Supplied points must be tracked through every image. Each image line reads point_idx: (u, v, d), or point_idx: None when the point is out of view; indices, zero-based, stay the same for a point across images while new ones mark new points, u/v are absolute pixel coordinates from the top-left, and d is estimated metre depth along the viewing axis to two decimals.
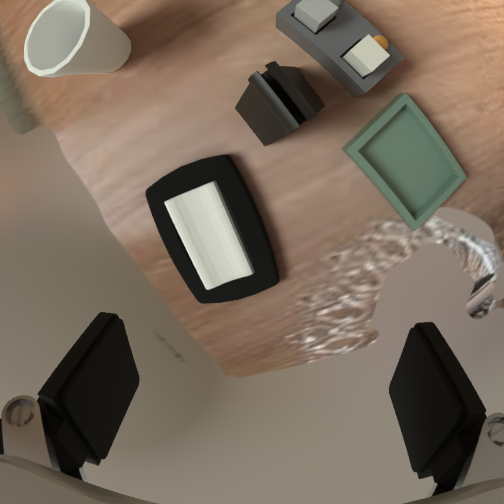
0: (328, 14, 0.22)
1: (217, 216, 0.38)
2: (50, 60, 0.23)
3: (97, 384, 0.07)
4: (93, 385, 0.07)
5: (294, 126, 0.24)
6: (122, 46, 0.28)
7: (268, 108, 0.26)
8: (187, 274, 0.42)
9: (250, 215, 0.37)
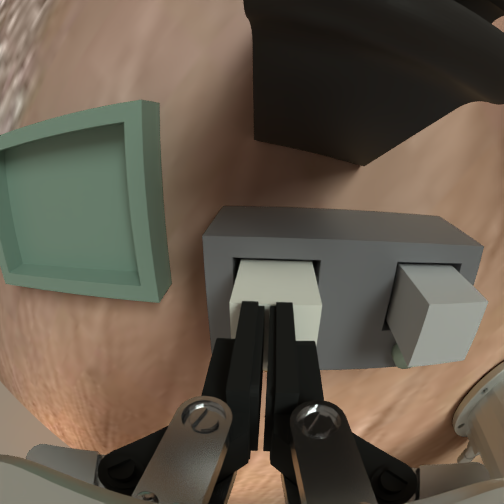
0: (421, 338, 0.10)
1: None
2: None
3: None
4: None
5: None
6: None
7: None
8: None
9: None
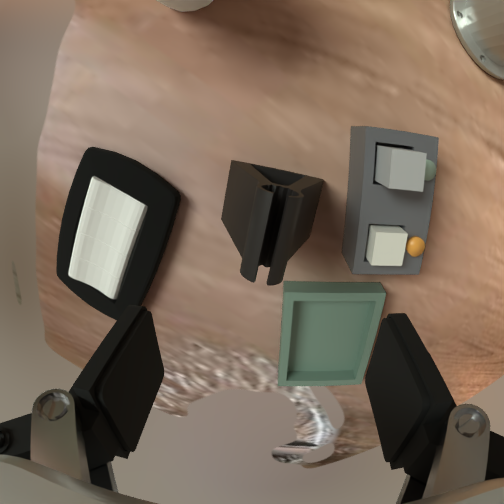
0: (407, 188, 0.20)
1: (122, 234, 0.31)
2: None
3: (129, 376, 0.07)
4: (126, 377, 0.07)
5: (249, 277, 0.20)
6: None
7: (249, 220, 0.22)
8: (63, 247, 0.33)
9: (149, 261, 0.31)
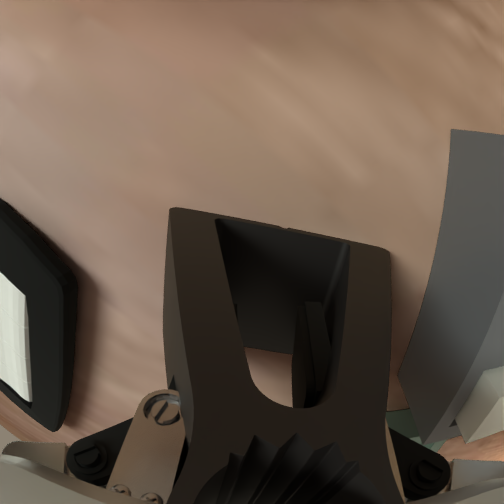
0: None
1: (10, 328, 0.14)
2: None
3: None
4: None
5: None
6: None
7: None
8: None
9: (53, 377, 0.15)
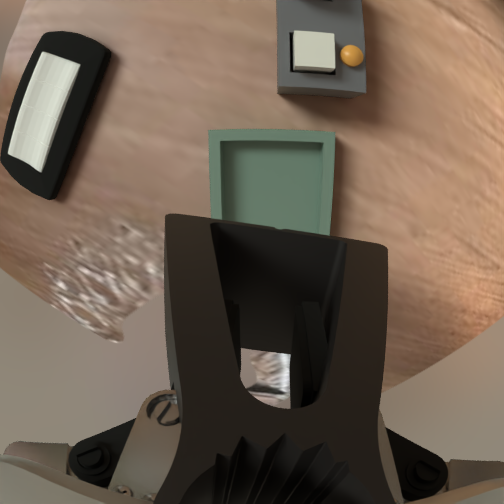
0: None
1: (57, 97, 0.25)
2: None
3: None
4: None
5: None
6: None
7: None
8: (8, 127, 0.27)
9: (74, 118, 0.25)
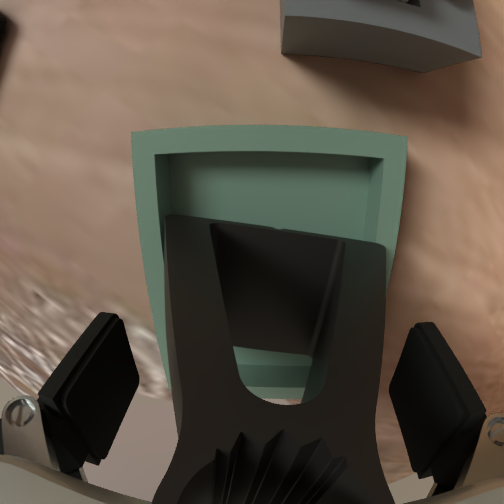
0: None
1: None
2: None
3: (97, 384, 0.07)
4: (93, 385, 0.07)
5: None
6: None
7: None
8: None
9: None
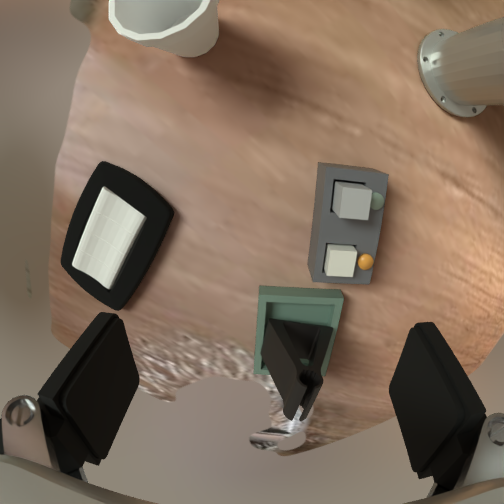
0: (354, 217, 0.28)
1: (123, 236, 0.38)
2: (138, 2, 0.20)
3: (97, 384, 0.07)
4: (93, 385, 0.07)
5: (289, 418, 0.31)
6: (200, 48, 0.27)
7: (287, 382, 0.33)
8: (69, 241, 0.39)
9: (143, 261, 0.38)
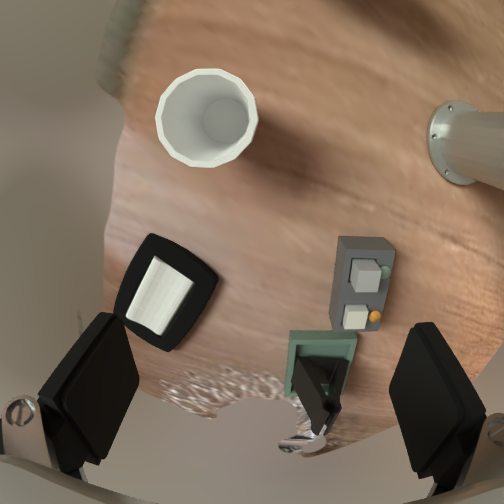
0: (367, 291, 0.36)
1: (174, 296, 0.46)
2: (179, 108, 0.28)
3: (97, 384, 0.07)
4: (93, 385, 0.07)
5: (316, 433, 0.39)
6: None
7: (314, 407, 0.41)
8: (122, 297, 0.48)
9: (192, 316, 0.47)
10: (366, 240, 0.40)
